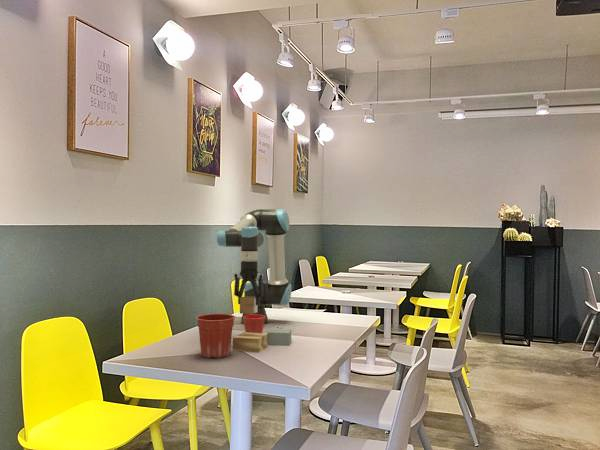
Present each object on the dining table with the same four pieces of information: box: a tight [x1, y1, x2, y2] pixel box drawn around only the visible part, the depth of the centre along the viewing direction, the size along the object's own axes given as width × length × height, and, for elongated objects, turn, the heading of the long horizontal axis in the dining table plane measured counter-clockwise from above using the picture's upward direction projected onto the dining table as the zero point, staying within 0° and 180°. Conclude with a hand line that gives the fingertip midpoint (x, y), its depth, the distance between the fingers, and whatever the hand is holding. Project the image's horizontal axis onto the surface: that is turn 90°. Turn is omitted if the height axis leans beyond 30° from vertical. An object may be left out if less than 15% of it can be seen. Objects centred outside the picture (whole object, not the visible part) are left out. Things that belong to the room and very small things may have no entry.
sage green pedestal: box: [266, 327, 292, 347], centre depth 236 cm, size 10×10×6 cm
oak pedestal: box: [232, 331, 269, 353], centre depth 225 cm, size 12×12×6 cm
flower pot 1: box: [195, 313, 236, 359], centre depth 214 cm, size 16×16×16 cm
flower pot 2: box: [243, 314, 265, 333], centre depth 252 cm, size 11×11×10 cm
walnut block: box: [239, 295, 257, 315], centre depth 227 cm, size 6×6×7 cm
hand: (248, 311), depth 227 cm, fingers closed on walnut block, 6 cm apart
